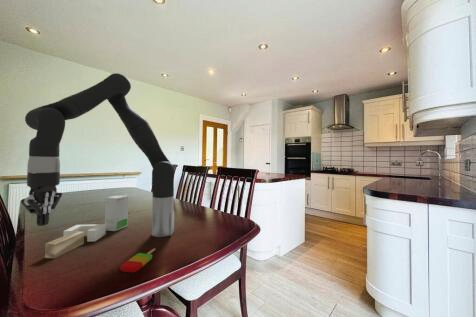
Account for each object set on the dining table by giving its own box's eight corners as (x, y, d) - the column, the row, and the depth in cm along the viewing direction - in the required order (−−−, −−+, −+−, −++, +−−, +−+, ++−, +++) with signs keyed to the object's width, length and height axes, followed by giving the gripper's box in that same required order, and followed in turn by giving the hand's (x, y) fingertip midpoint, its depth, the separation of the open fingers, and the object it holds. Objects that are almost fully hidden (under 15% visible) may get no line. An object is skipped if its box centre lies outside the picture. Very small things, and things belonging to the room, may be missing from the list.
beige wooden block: (83, 244, 80) (84, 231, 80) (54, 258, 68) (55, 244, 68) (75, 243, 81) (75, 231, 81) (45, 258, 69) (45, 243, 69)
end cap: (105, 234, 91) (105, 224, 91) (95, 241, 83) (95, 230, 83) (76, 234, 89) (76, 224, 89) (63, 242, 81) (63, 231, 81)
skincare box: (115, 231, 94) (116, 198, 94) (103, 230, 95) (104, 197, 95) (128, 226, 102) (129, 195, 102) (117, 224, 103) (118, 194, 104)
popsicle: (118, 272, 62) (118, 266, 62) (148, 250, 76) (148, 245, 76) (134, 274, 61) (135, 268, 61) (161, 251, 76) (161, 246, 76)
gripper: (48, 169, 70) (46, 219, 70) (10, 172, 57) (8, 232, 57) (71, 170, 71) (70, 218, 71) (39, 172, 58) (37, 232, 58)
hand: (42, 225), depth 64 cm, fingers closed
